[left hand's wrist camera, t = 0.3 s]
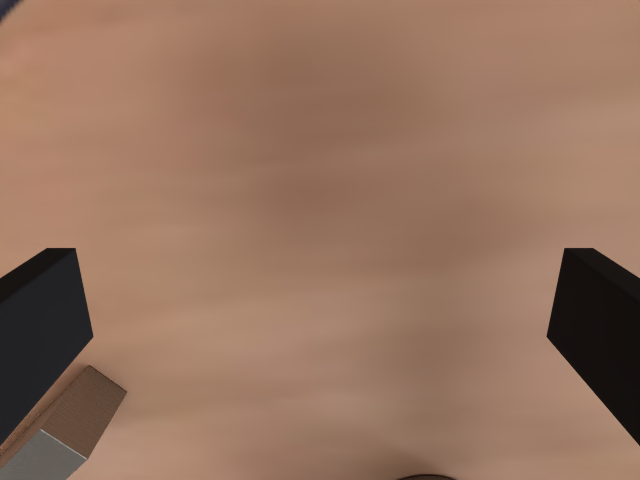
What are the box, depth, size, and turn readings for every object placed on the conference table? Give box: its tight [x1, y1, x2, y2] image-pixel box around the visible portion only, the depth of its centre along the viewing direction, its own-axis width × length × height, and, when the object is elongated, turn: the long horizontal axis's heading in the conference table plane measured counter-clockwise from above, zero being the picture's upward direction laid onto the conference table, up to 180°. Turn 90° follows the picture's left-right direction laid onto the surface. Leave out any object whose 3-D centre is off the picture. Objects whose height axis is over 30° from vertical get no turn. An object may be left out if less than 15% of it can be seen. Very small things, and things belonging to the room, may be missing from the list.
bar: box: [0, 366, 127, 480], centre depth 49 cm, size 22×5×10 cm, turn 135°
